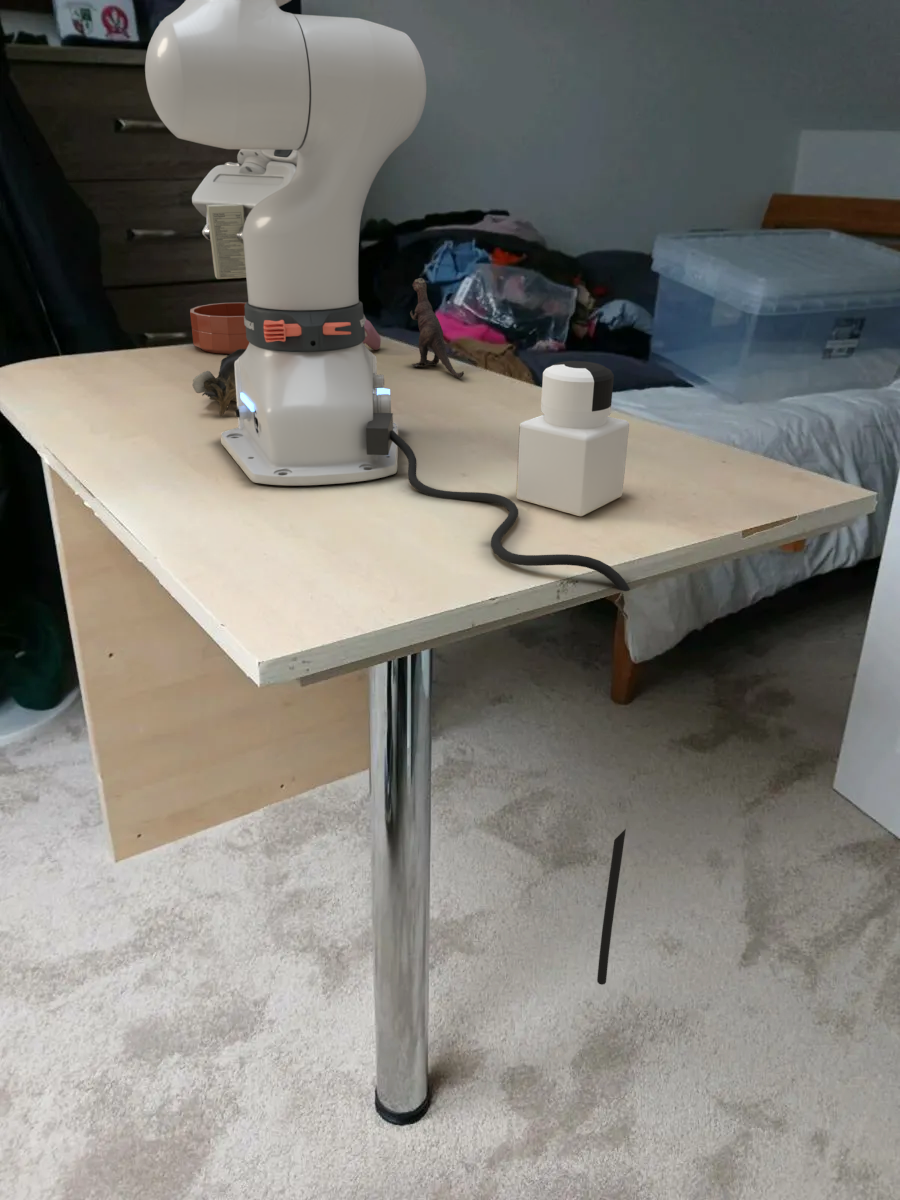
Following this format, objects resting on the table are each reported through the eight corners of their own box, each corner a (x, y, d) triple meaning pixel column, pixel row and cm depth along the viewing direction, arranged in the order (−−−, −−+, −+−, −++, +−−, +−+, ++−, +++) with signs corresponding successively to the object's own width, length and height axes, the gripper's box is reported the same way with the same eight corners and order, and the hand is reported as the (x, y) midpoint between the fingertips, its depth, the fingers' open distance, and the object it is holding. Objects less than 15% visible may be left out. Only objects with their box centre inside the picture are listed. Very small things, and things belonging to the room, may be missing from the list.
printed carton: (247, 274, 143) (241, 203, 139) (251, 278, 139) (245, 205, 135) (212, 275, 142) (205, 203, 137) (215, 279, 138) (208, 205, 134)
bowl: (284, 353, 141) (282, 315, 138) (193, 356, 138) (189, 318, 136) (278, 336, 152) (276, 301, 150) (194, 339, 149) (190, 303, 147)
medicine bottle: (558, 480, 90) (566, 353, 85) (623, 497, 86) (636, 364, 81) (514, 499, 85) (520, 365, 80) (581, 518, 81) (592, 378, 76)
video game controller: (315, 358, 145) (304, 320, 139) (325, 340, 147) (315, 302, 142) (375, 363, 142) (366, 324, 137) (384, 344, 145) (376, 305, 139)
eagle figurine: (270, 406, 109) (274, 374, 116) (230, 357, 105) (237, 327, 112) (218, 439, 111) (225, 406, 118) (176, 392, 107) (187, 361, 114)
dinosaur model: (421, 274, 132) (483, 295, 121) (422, 357, 138) (481, 384, 127) (396, 277, 130) (457, 298, 119) (398, 361, 136) (456, 389, 125)
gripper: (208, 146, 143) (164, 219, 141) (306, 149, 133) (261, 227, 130) (233, 178, 149) (191, 248, 146) (329, 182, 138) (286, 259, 135)
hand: (225, 239), depth 138 cm, fingers closed on printed carton, 6 cm apart
